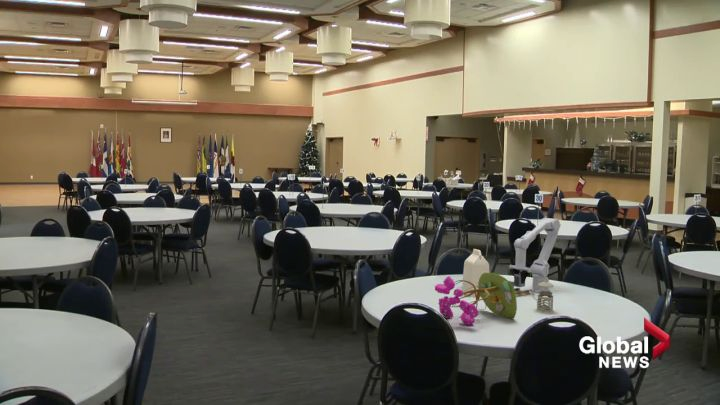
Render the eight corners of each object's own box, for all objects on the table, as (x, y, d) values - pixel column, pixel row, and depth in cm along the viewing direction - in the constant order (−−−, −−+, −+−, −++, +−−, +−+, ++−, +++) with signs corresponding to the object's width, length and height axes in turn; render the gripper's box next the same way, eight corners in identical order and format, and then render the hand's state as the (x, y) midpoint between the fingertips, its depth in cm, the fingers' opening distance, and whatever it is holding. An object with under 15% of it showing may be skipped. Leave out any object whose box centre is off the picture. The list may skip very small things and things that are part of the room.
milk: (461, 293, 374) (463, 248, 372) (479, 291, 377) (480, 247, 375) (471, 297, 363) (472, 251, 360) (489, 296, 366) (491, 251, 364)
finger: (525, 286, 374) (525, 274, 374) (518, 287, 371) (519, 275, 370) (519, 285, 378) (519, 273, 377) (513, 286, 374) (513, 274, 374)
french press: (551, 314, 327) (553, 265, 325) (529, 311, 333) (530, 263, 331) (557, 310, 335) (558, 263, 333) (534, 307, 341) (536, 260, 339)
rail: (517, 291, 381) (517, 277, 381) (530, 294, 373) (531, 280, 373) (496, 294, 370) (497, 281, 370) (510, 298, 363) (510, 284, 362)
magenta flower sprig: (513, 259, 310) (456, 276, 293) (528, 318, 308) (471, 337, 291) (474, 265, 336) (420, 280, 319) (488, 319, 334) (434, 337, 317)
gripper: (506, 258, 377) (505, 281, 378) (526, 261, 365) (525, 285, 366) (514, 257, 381) (513, 280, 382) (534, 260, 369) (533, 284, 371)
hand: (519, 282), depth 374 cm, fingers closed on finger, 4 cm apart
